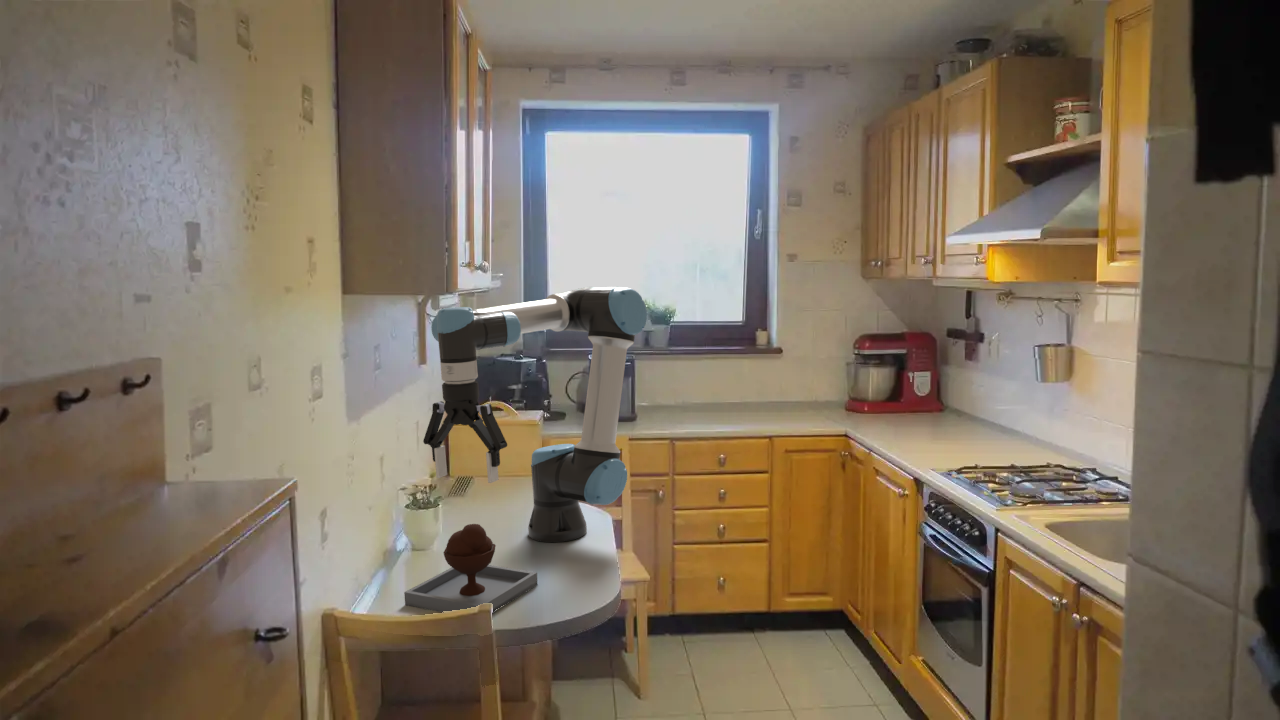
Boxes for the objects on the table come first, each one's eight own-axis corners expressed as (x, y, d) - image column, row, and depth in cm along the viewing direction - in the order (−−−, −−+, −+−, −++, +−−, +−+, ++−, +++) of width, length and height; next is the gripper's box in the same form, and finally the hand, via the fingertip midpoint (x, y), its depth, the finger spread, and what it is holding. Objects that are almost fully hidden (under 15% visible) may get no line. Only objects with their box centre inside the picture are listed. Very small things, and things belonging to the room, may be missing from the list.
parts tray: (465, 572, 201) (464, 560, 201) (537, 584, 192) (536, 572, 192) (405, 604, 184) (404, 592, 183) (481, 620, 175) (481, 606, 174)
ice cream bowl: (500, 580, 194) (496, 514, 192) (493, 599, 183) (489, 530, 181) (452, 582, 193) (447, 516, 192) (442, 602, 182) (438, 533, 181)
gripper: (401, 382, 186) (409, 478, 189) (498, 385, 175) (505, 488, 178) (424, 376, 193) (432, 470, 196) (519, 379, 182) (525, 478, 185)
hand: (467, 478), depth 187 cm, fingers open, 13 cm apart
